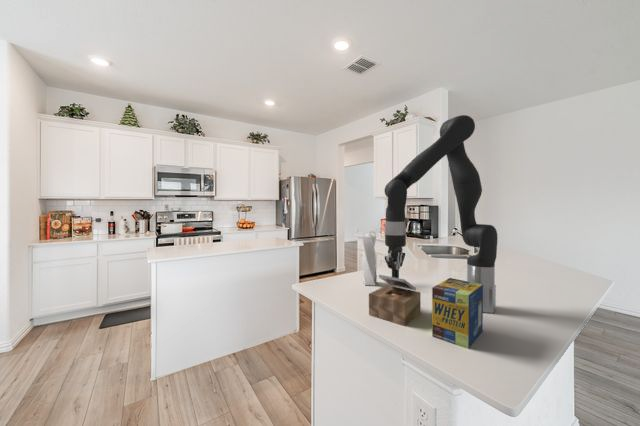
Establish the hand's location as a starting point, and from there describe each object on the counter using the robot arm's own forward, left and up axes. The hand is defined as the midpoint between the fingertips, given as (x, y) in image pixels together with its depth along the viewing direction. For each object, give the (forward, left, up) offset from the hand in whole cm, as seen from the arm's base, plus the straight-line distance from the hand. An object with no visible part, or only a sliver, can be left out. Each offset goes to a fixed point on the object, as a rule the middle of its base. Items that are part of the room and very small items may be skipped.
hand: (395, 278), depth 98 cm
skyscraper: (+27, -26, -13) cm, 40 cm away
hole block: (0, +1, -13) cm, 13 cm away
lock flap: (0, -1, -2) cm, 2 cm away
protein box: (-22, +2, -13) cm, 26 cm away
